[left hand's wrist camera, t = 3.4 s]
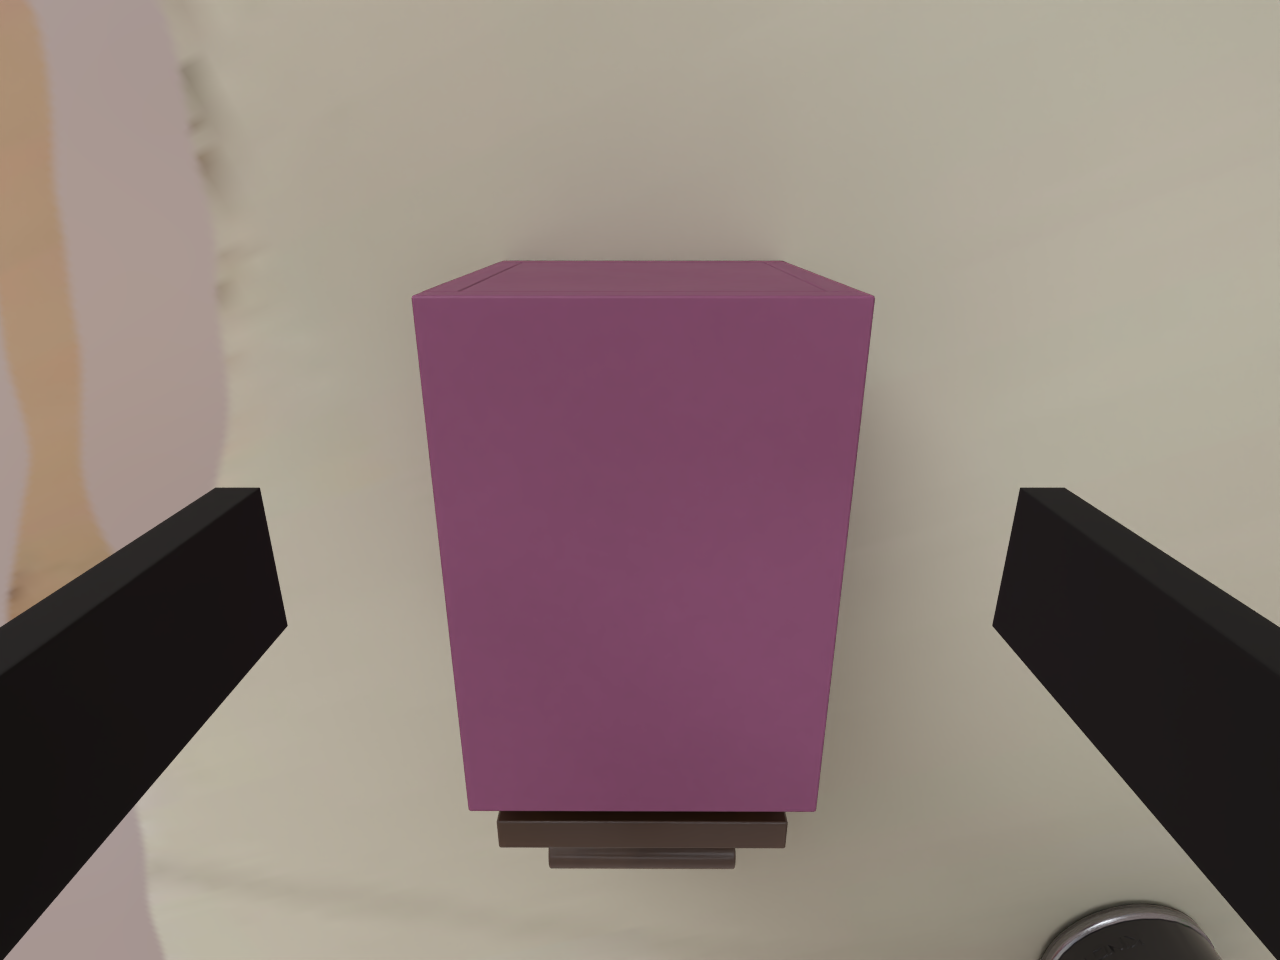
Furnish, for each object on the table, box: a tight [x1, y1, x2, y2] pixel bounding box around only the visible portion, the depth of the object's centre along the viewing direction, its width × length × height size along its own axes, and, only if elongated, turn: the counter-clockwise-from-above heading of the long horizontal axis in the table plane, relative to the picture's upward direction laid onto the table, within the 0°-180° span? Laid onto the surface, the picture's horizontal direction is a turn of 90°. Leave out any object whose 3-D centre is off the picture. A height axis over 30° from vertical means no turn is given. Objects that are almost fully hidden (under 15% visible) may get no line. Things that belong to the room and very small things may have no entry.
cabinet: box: [412, 261, 875, 812], centre depth 25 cm, size 16×11×12 cm
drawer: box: [497, 811, 788, 869], centre depth 27 cm, size 20×10×10 cm, turn 0°
